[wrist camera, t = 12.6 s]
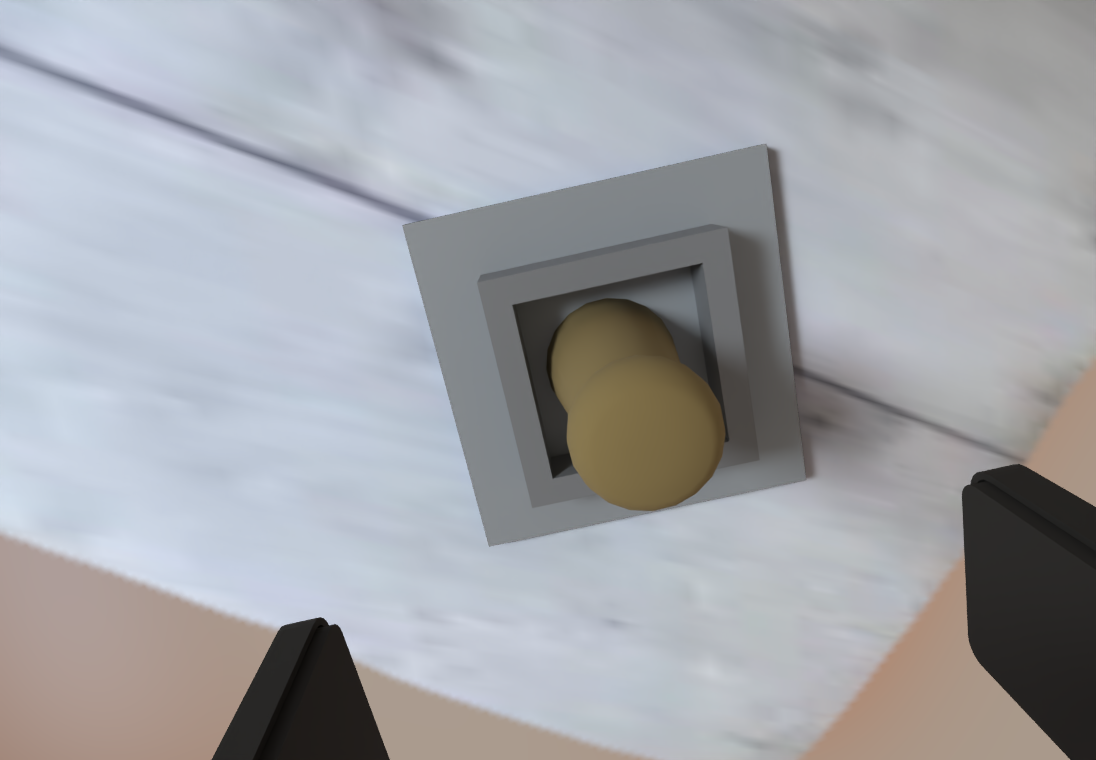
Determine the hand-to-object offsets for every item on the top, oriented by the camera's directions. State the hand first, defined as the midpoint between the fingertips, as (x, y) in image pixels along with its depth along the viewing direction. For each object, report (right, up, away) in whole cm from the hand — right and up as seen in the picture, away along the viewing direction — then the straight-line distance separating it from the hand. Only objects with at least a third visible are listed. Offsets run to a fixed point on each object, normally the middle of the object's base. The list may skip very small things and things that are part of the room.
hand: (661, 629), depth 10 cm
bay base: (+1, +5, +22) cm, 23 cm away
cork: (+1, +5, +22) cm, 22 cm away
